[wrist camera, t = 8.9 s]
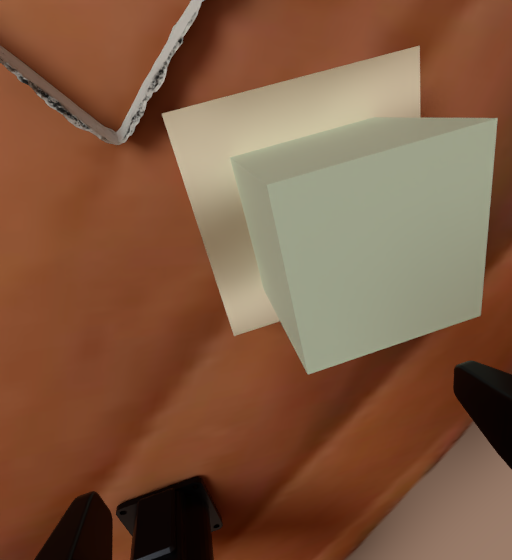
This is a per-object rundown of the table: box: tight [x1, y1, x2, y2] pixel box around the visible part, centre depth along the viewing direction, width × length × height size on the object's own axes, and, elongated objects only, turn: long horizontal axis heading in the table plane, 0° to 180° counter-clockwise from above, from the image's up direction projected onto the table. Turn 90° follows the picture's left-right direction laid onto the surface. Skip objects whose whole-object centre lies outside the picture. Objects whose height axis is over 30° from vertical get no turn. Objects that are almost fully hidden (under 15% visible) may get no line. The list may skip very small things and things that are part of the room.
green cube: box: [230, 117, 497, 374], centre depth 12 cm, size 6×6×6 cm
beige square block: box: [162, 46, 420, 336], centre depth 17 cm, size 10×10×4 cm
